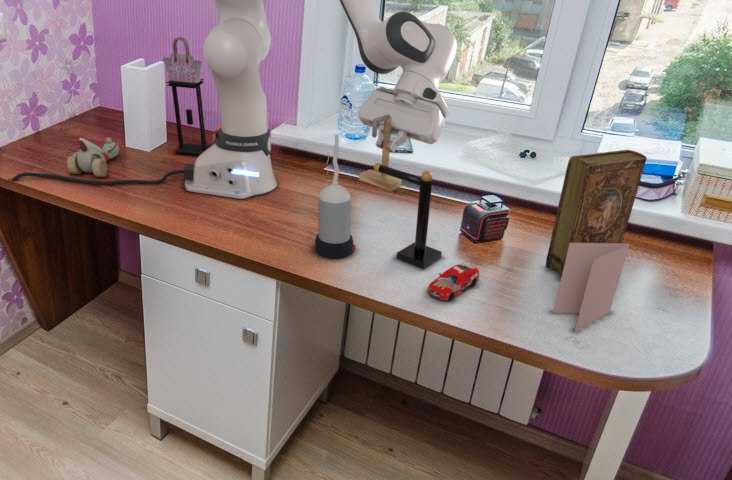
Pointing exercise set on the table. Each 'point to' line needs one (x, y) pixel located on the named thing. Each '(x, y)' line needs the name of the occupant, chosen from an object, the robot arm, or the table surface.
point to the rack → (418, 250)
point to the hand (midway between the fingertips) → (384, 148)
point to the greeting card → (590, 280)
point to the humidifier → (334, 218)
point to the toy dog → (92, 158)
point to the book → (595, 201)
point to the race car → (453, 281)
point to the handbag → (188, 76)
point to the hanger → (381, 178)
